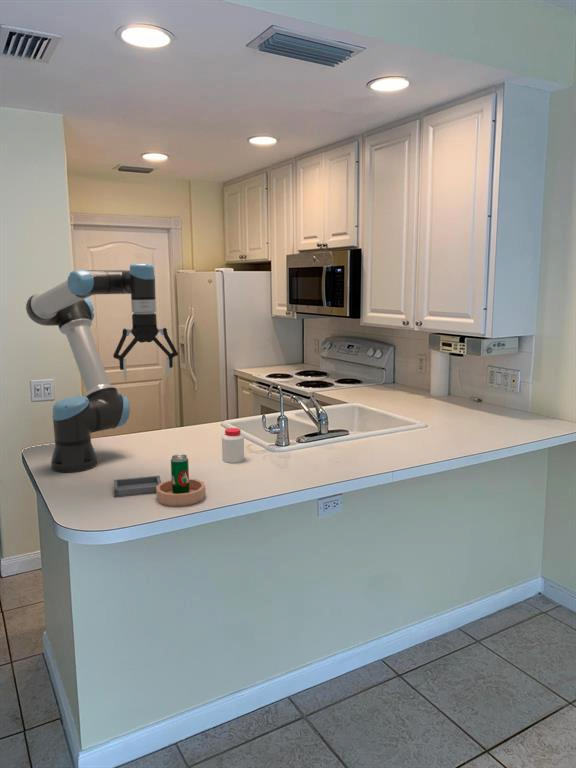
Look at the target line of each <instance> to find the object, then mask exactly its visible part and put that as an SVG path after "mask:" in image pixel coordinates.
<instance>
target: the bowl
mask: <svg viewBox="0 0 576 768" xmlns="http://www.w3.org/2000/svg"><path fill="white" fill-rule="evenodd" d="M189 490H190V492H189V493H181V494H173V493H172V479H169V480H166V481H161V483H160V484H159V485H158V486H156V493H155V496H156V501H157V502H158V503H160V504H161V505H164V506H168V507H169V506H170V507H185V506H186V507H187V506H191V505H195V504H198V503H200V502H201V501H203V500H204V499H205V498H206V494H207V493H206V491H207V490H206V485H205V482H204V481H202V480H200V479H196V478H189Z"/></svg>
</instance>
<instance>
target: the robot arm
mask: <svg viewBox="0 0 576 768" xmlns="http://www.w3.org/2000/svg"><path fill="white" fill-rule="evenodd" d="M120 294H121V295H130V297H131V298H130V302H131V312H132V313H133V314H132V315H131V320H132V328H131V329H128V328H123V329H122V335H121V337H120V339H119V343H118V344H117V345H116V346H117V347H116V348H115V350H114V353H113V358H114V359H116V360H118V362H119V369H120V371H123V379H124V381H125V382H126V381H127V380H128V379H127V378H128V377H127V364H126V363H127V362H126V361H127V359H125V358H126V356H127V355H128V354H129V353H130V352H131V350H133V348H134V346H135V345H136V344H137V343H138V342H139V343H152V342H154V343H155V345H157V346H158V347H159V349H161V350H162V351H163V352H164V353H165V355H166V356H167V357H165V361H166V362H165V366H166V367H165V368H166V379H171V373H170V372H171V371H170V369H173V366H174V362H173V359H174V358H175V357H178V355H179V353H178V351H177V349H176V347H175V346H174V344H173V342H172V340H171V338H170V337H169V335H168V329H167V328H166V327H161V328H158V326H157V324H158V323H157V322H158V321H157V314H156V313H155V312H156V311H157V305H156V304H157V302H156V276H155V266H154V265H153V264H151V263H131V264H130V265H129V270H122V269H120V270H119V269H118V270H117V269H116V270H103V269H102V270H96V269H95V270H94V269H93V270H92V269H91V270H90V269H78V270H72V271H70V272H69V275H68V277H67V280H65V281H64V282H61V283H58V285H56V286H53V287H52V288H50V289H48V290H47V291H38V292H36V293H34V294H32V295H31V296H30V297H29V298H28V299H27V301H26V303H25V305H26V306H25V311H26V313H27V316H28V318H29V319H30V320H31V321H33V322H34V323H35V324H38V325H40V326H47V327H49V326H53V327H54V326H58V328H59V332H60V333H61V334H62V335H65V336H66V338H67V342H68V343H69V346H70V350H71V352H72V355H73V358H74V360H75V363H76V366H77V369H78V372H79V375H80V377H81V379H82V380H81V381H82V383H83V385H84V388H85V391H86V394H85V396H82V395H81V396H80V395H78V396H70V397H67V398H63V399H60V400H58V401H56V402H55V403H54V405H53V407H52V420H53V421H52V422H53V432H54V433H53V434H54V448H53V453H52V458H51V461H50V465H51V470H53V471H55V472H59V473H74V472H82V471H87V470H90V469H93V468H95V467H96V466H97V465H98V463H99V462H98V456H97V453H96V451H95V449H94V446H93V444H92V437H91V434H92V433H97V432H102V431H105V430H107V431H108V430H111V429H112V430H113V429H114V430H115V429H117V428H119V427H122V426H125V424H126V423H127V422H128V420H129V418H130V413H131V412H130V411H131V409H130V408H131V407H130V402H129V399H128V397H127V396H126V395H125V394H122V393H119V392H118V390H117V389H118V388H117V387H115V386H113V385H111V382H110V380H109V378H108V375H107V372H106V369H105V367H104V363H103V360H102V358H101V355H100V352H99V351H98V347H97V345H96V342H95V339H94V336H93V334H92V331H91V326H92V325H93V320H94V318H95V312H94V311H95V310H94V309H95V308H94V305H93V302H92V301H91V299H90V297H92V296H95V295H98V296H99V295H120ZM159 333H160V334H161V336H163V338H164V340H165V342H166V343H167V345H168V346H169V348H170V350H171V352H170V351H169V350H168V349H167V347H166V346H165V345H163V344H162V342H160V340H159V339H158V338H157V335H158V334H159ZM130 334H132V336H133V339H132V340H131V341H130V342H129V344H128V345H127V346H126V348H125V349H124V350H123V352H121V350H122V347H123V346H124V343H125V342H126V340H127V337H129V336H130ZM120 352H121V353H120Z"/></svg>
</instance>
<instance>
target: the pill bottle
mask: <svg viewBox="0 0 576 768" xmlns="http://www.w3.org/2000/svg"><path fill="white" fill-rule="evenodd" d="M221 453H222V454H221V458H222V459H221V460H222V462H224V463H227V462H229V464H236V462H238V463H241V462H243V461H245V436H244V435H243V434H242V433H241V429H240V428H238V427H229V428H225V429H224V434H223V435H222V436H221Z"/></svg>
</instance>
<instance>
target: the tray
mask: <svg viewBox="0 0 576 768" xmlns="http://www.w3.org/2000/svg"><path fill="white" fill-rule="evenodd" d="M160 483H162V481H161V476H160V475H150V476H140V477H129V478H118V479H113V496H114V498H117V497H129V496H139V495H148V494H156V486H158V485H159V484H160Z"/></svg>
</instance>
